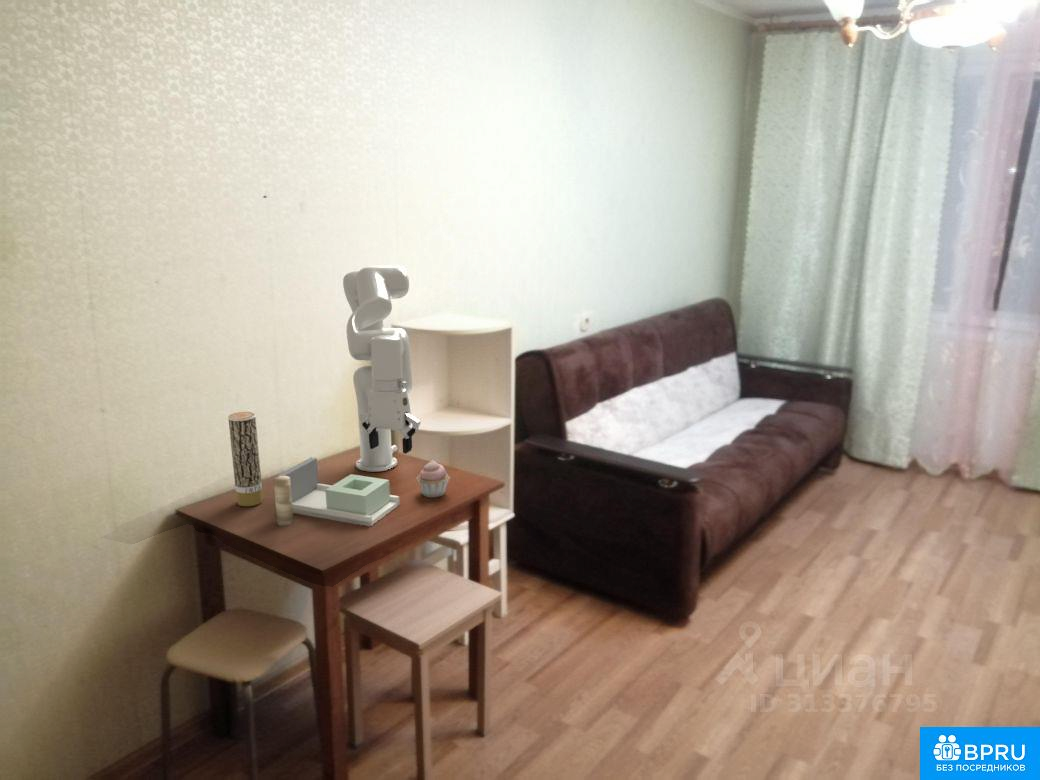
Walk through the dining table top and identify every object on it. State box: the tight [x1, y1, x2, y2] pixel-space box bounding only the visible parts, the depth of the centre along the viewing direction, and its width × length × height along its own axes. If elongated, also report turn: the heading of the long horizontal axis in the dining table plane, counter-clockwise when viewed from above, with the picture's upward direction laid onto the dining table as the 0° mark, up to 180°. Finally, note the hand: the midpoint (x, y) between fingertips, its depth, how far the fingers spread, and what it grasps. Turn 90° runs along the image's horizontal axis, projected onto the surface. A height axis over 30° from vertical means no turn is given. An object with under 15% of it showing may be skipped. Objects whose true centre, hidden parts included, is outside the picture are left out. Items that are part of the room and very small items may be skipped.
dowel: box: [273, 476, 294, 526], centre depth 201 cm, size 4×4×12 cm
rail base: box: [276, 457, 400, 527], centre depth 210 cm, size 15×28×10 cm, turn 69°
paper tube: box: [227, 411, 264, 507], centre depth 212 cm, size 7×7×25 cm
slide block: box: [325, 473, 391, 516], centre depth 208 cm, size 12×12×6 cm
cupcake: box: [416, 459, 450, 499], centre depth 220 cm, size 9×9×10 cm
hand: (390, 449), depth 200 cm, fingers open, 9 cm apart
